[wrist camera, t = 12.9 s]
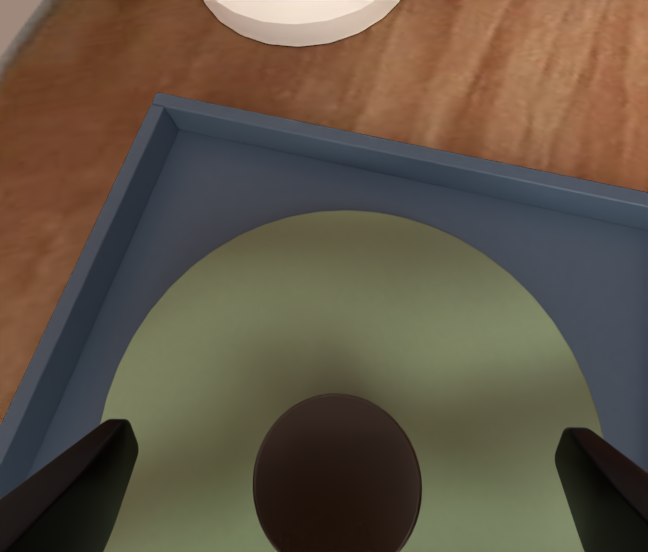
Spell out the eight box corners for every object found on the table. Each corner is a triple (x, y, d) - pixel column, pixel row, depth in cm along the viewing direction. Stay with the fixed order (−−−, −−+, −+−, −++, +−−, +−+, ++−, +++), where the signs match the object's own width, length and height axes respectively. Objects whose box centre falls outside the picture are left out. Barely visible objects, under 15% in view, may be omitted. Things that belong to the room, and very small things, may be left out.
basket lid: (692, 610, 12) (1201, 931, 5) (176, 833, 11) (-123, 1596, 4) (454, 168, 16) (534, -2, 9) (78, 306, 15) (-145, 234, 8)
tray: (636, 985, 10) (724, 1164, 8) (-56, 673, 13) (-147, 735, 11) (675, 237, 16) (733, 208, 13) (181, 130, 19) (156, 91, 16)
